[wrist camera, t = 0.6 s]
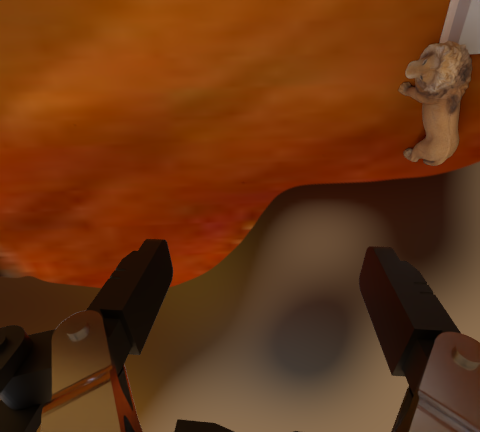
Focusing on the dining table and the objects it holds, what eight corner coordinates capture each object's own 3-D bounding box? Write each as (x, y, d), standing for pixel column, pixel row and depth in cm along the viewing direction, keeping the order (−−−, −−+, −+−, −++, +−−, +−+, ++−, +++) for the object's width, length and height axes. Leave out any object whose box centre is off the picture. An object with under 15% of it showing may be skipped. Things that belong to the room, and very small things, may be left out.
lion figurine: (377, 59, 30) (414, 61, 22) (430, 31, 28) (490, 22, 20) (406, 170, 36) (443, 202, 28) (450, 153, 34) (503, 182, 26)
